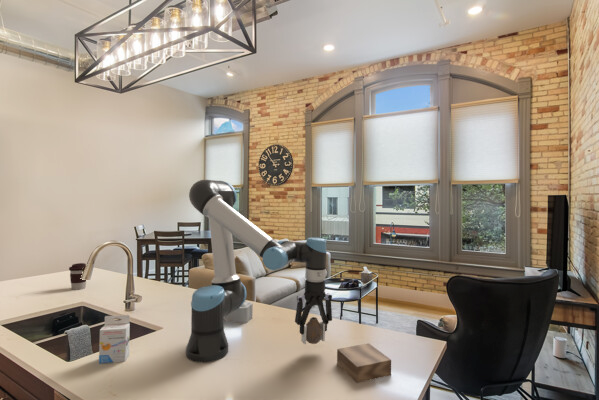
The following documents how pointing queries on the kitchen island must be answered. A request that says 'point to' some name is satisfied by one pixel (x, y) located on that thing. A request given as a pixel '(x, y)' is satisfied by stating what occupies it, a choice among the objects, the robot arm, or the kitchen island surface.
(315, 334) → the vase
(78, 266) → the coffee cup
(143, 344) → the kitchen island surface
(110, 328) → the ink box
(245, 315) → the grey angular block
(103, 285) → the kitchen island surface
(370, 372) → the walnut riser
